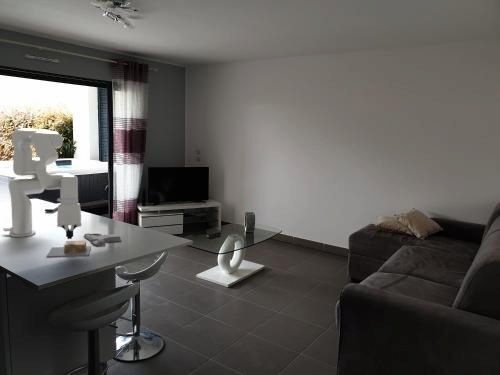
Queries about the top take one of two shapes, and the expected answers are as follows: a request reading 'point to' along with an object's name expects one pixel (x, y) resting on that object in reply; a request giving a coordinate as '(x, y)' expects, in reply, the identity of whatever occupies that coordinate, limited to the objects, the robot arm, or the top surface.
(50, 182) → the robot arm
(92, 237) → the pistol
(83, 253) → the rubber mat
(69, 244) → the wooden block
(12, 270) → the top surface
